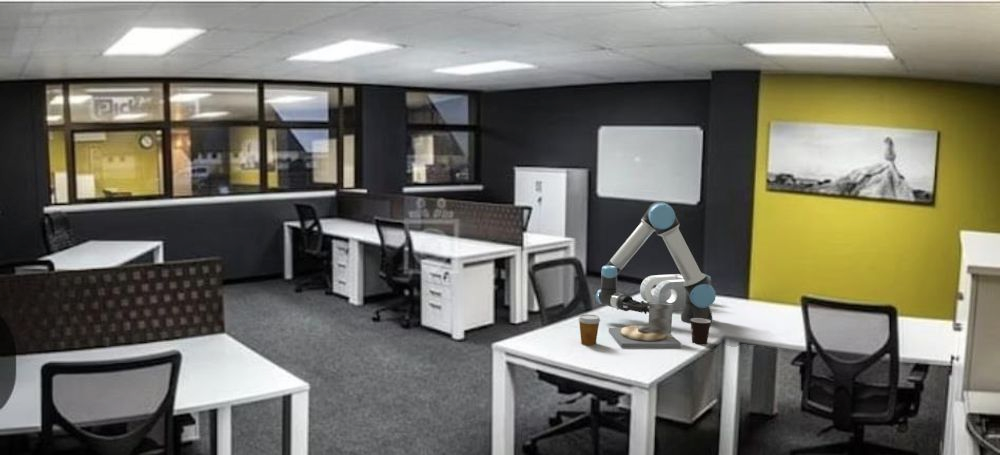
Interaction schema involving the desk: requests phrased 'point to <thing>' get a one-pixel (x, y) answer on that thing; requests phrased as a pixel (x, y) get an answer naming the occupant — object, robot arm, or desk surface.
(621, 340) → the base
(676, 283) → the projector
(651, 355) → the desk surface
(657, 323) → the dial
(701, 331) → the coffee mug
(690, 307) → the robot arm
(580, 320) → the disposable coffee cup
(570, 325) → the desk surface
